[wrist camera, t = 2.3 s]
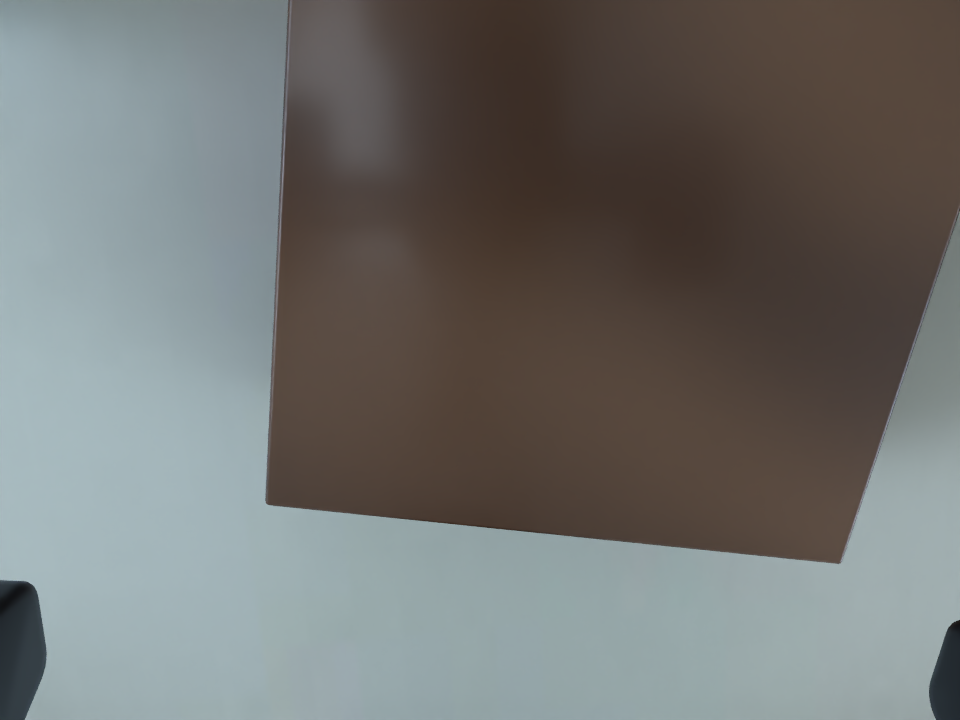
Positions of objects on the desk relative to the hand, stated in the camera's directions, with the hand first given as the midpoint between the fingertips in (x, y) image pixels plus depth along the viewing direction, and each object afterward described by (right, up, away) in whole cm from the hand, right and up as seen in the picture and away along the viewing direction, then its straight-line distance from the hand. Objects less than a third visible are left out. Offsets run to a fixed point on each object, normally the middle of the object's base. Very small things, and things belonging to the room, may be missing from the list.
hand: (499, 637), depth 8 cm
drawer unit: (+2, +7, +11) cm, 14 cm away
